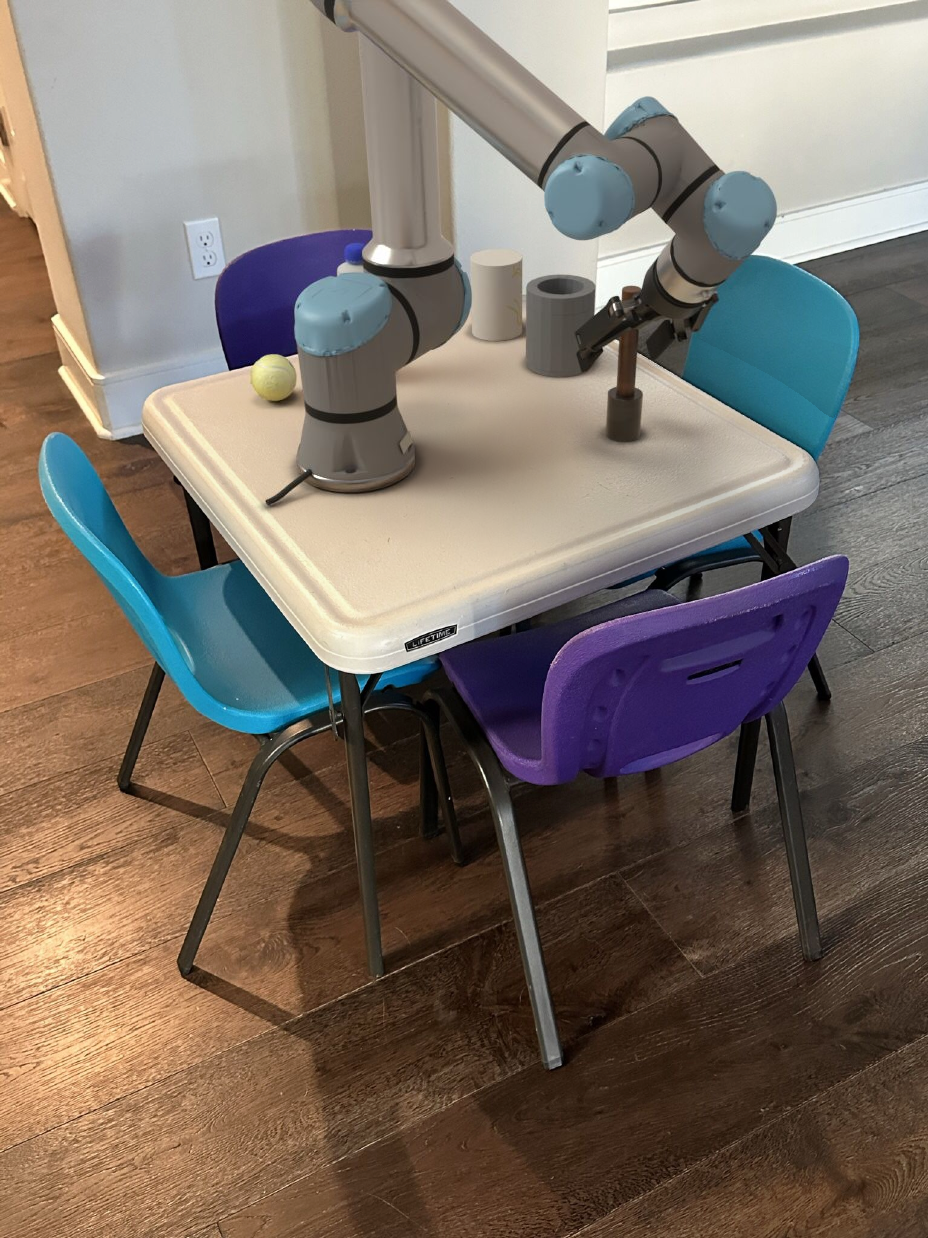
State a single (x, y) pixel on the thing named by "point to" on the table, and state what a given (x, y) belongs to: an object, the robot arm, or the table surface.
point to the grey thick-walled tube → (556, 322)
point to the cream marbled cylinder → (496, 294)
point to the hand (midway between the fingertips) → (616, 356)
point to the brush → (625, 387)
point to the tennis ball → (273, 377)
